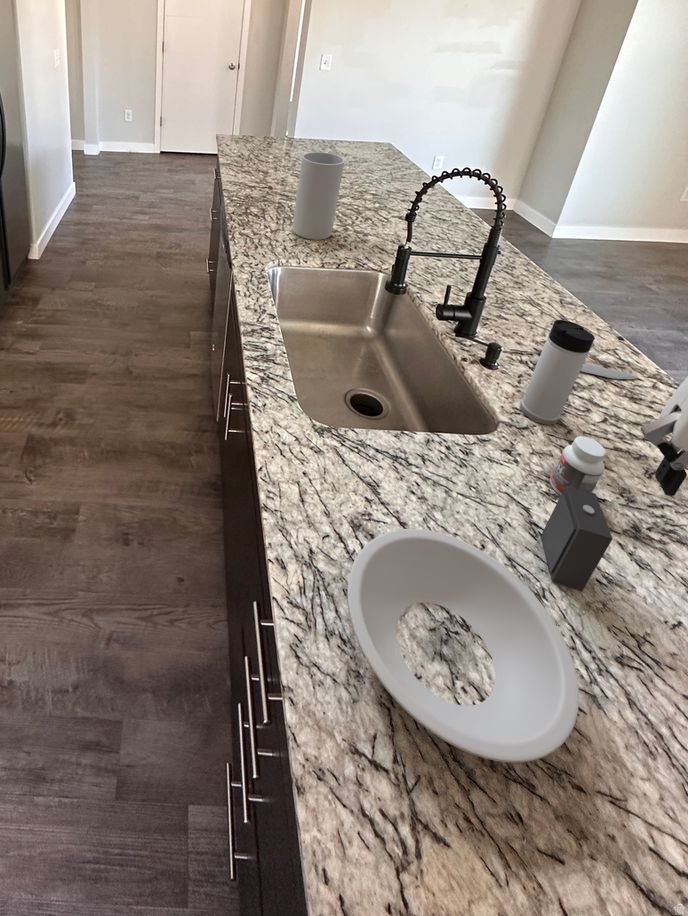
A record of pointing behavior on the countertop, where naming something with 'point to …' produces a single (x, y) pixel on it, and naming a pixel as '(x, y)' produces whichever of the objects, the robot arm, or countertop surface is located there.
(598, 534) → the dark gray rectangular block
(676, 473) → the robot arm
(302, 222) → the cylinder vase
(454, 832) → the countertop surface
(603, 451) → the pill bottle
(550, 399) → the travel mug
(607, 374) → the chef's knife
